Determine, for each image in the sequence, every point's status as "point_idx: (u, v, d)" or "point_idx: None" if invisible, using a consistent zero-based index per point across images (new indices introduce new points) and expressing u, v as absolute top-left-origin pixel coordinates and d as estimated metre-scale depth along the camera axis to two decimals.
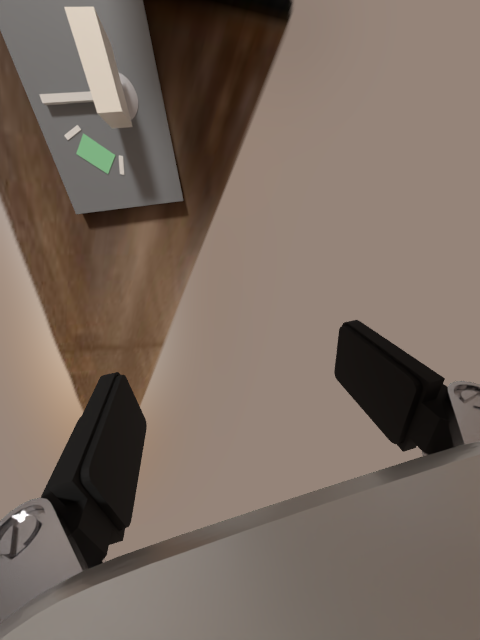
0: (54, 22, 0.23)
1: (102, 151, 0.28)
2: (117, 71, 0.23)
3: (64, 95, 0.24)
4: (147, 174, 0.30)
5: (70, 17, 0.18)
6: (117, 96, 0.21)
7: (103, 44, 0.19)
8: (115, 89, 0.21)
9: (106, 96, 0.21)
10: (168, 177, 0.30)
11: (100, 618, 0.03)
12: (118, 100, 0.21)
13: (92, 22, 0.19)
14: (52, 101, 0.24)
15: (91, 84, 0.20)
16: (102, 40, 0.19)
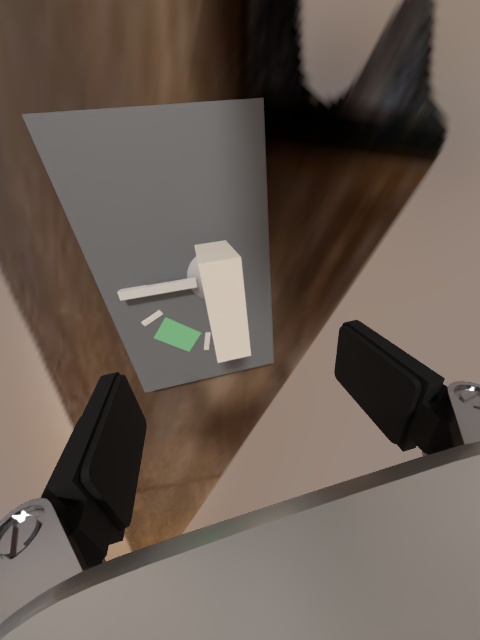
0: (145, 207, 0.16)
1: (186, 331, 0.21)
2: None
3: (149, 289, 0.18)
4: None
5: (204, 274, 0.12)
6: (248, 342, 0.14)
7: (243, 293, 0.13)
8: (248, 336, 0.14)
9: (234, 345, 0.14)
10: (261, 344, 0.24)
11: (100, 617, 0.03)
12: (248, 345, 0.14)
13: (234, 274, 0.12)
14: (133, 296, 0.18)
15: (217, 337, 0.14)
16: (243, 289, 0.13)
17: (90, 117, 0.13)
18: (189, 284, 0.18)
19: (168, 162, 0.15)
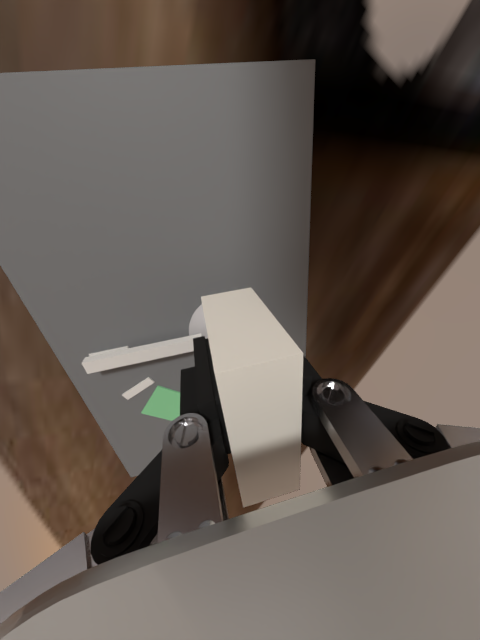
0: (122, 235, 0.10)
1: None
2: None
3: (132, 356, 0.12)
4: None
5: (227, 389, 0.06)
6: (297, 472, 0.08)
7: (298, 408, 0.07)
8: (297, 466, 0.08)
9: (273, 481, 0.08)
10: None
11: (100, 618, 0.03)
12: (297, 477, 0.08)
13: (287, 382, 0.06)
14: (107, 366, 0.12)
15: (244, 476, 0.07)
16: (298, 402, 0.07)
17: (18, 86, 0.08)
18: (192, 345, 0.12)
19: (158, 165, 0.09)
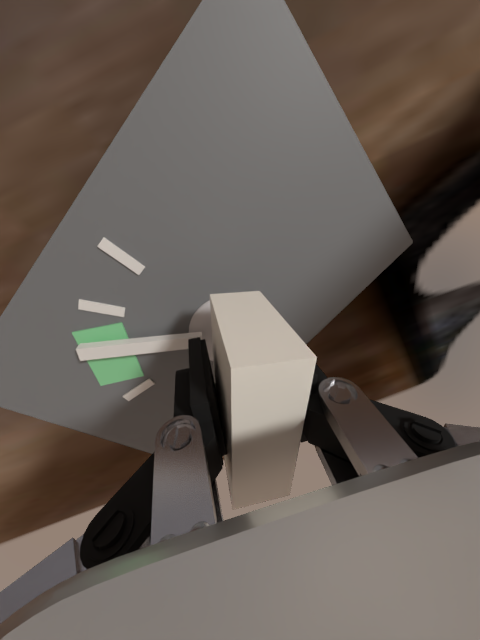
0: (246, 197, 0.10)
1: (127, 360, 0.13)
2: None
3: (129, 347, 0.11)
4: (166, 417, 0.15)
5: (240, 385, 0.06)
6: (290, 477, 0.08)
7: None
8: (291, 470, 0.08)
9: (266, 484, 0.08)
10: None
11: (100, 617, 0.03)
12: (289, 482, 0.08)
13: (297, 385, 0.06)
14: (102, 355, 0.11)
15: (239, 476, 0.07)
16: None
17: (304, 58, 0.09)
18: None
19: (313, 192, 0.11)
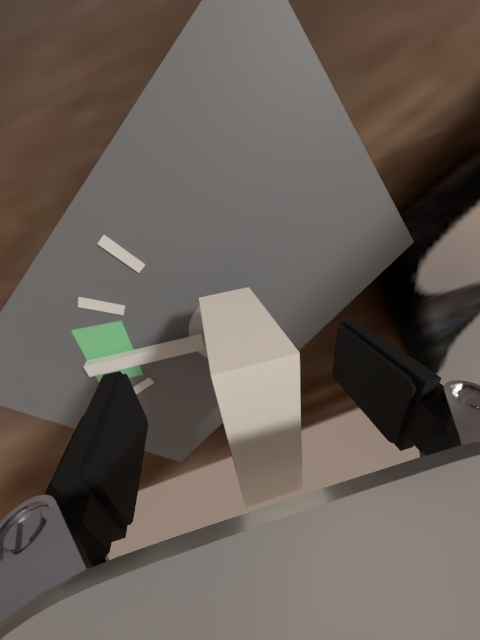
0: (247, 195, 0.10)
1: None
2: None
3: (133, 358, 0.12)
4: (165, 416, 0.15)
5: (224, 390, 0.06)
6: (299, 471, 0.08)
7: (297, 408, 0.07)
8: (299, 465, 0.08)
9: (275, 480, 0.08)
10: (191, 434, 0.17)
11: (100, 618, 0.03)
12: (299, 476, 0.08)
13: (284, 382, 0.06)
14: (109, 369, 0.12)
15: (245, 476, 0.07)
16: None
17: (306, 56, 0.09)
18: (192, 346, 0.12)
19: (314, 191, 0.11)
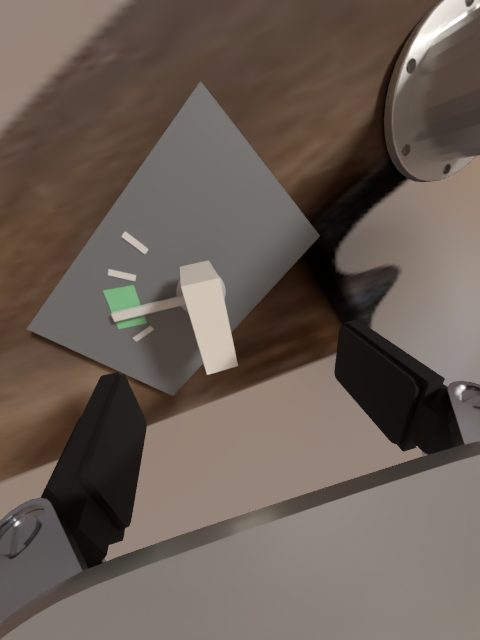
0: (209, 208, 0.18)
1: None
2: None
3: (141, 309, 0.19)
4: (161, 357, 0.22)
5: (187, 295, 0.13)
6: (234, 353, 0.15)
7: (225, 309, 0.14)
8: (233, 348, 0.15)
9: (221, 357, 0.15)
10: (180, 372, 0.24)
11: (100, 618, 0.03)
12: (235, 356, 0.16)
13: (215, 293, 0.13)
14: (126, 317, 0.19)
15: (204, 351, 0.15)
16: (224, 306, 0.14)
17: (235, 135, 0.16)
18: (178, 302, 0.20)
19: (249, 205, 0.18)
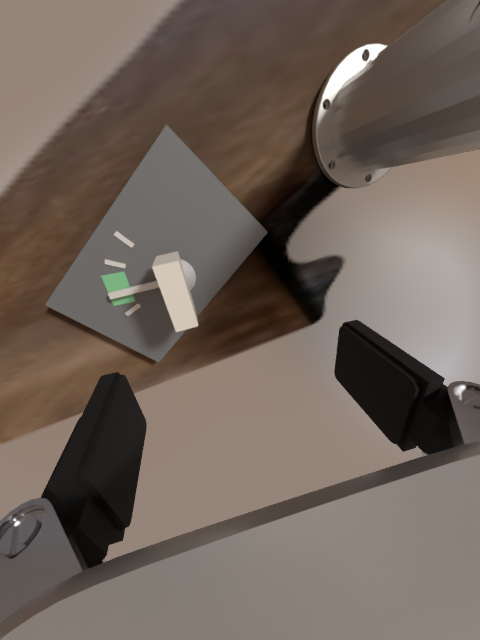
0: (178, 212, 0.24)
1: None
2: None
3: (130, 290, 0.25)
4: (148, 329, 0.29)
5: (157, 272, 0.19)
6: (194, 316, 0.22)
7: (184, 283, 0.20)
8: (193, 312, 0.21)
9: (185, 318, 0.21)
10: (163, 342, 0.30)
11: (100, 618, 0.03)
12: (195, 318, 0.22)
13: (176, 271, 0.19)
14: (119, 296, 0.25)
15: (172, 313, 0.21)
16: (184, 280, 0.20)
17: (194, 159, 0.23)
18: (158, 284, 0.26)
19: (209, 209, 0.25)
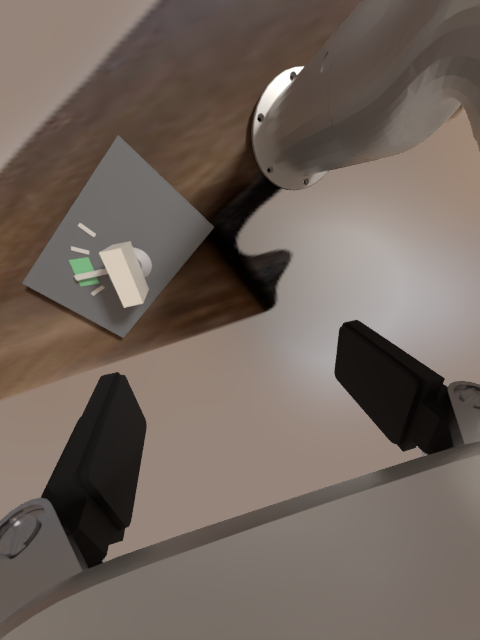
0: (132, 208, 0.29)
1: None
2: (136, 259, 0.29)
3: (93, 273, 0.30)
4: (112, 308, 0.34)
5: (103, 257, 0.24)
6: (139, 295, 0.26)
7: (128, 267, 0.25)
8: (137, 291, 0.26)
9: (131, 296, 0.26)
10: (126, 320, 0.35)
11: (100, 618, 0.03)
12: (140, 297, 0.26)
13: (119, 257, 0.24)
14: (84, 278, 0.30)
15: (119, 292, 0.26)
16: (127, 265, 0.25)
17: (144, 164, 0.27)
18: None
19: (159, 206, 0.29)
